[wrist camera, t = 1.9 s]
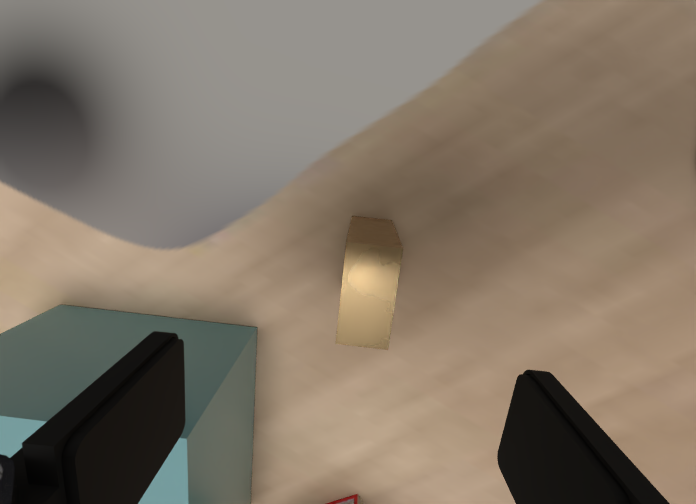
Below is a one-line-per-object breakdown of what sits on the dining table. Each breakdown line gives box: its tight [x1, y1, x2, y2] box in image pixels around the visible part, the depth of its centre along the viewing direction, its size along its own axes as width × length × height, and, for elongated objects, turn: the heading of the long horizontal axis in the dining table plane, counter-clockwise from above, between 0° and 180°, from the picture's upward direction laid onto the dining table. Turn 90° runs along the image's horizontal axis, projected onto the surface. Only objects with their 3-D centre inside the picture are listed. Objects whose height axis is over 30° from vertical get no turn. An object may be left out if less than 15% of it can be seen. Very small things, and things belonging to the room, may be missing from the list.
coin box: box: [0, 305, 257, 504], centre depth 22 cm, size 14×16×10 cm
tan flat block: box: [336, 216, 403, 350], centre depth 19 cm, size 2×5×7 cm, turn 174°
